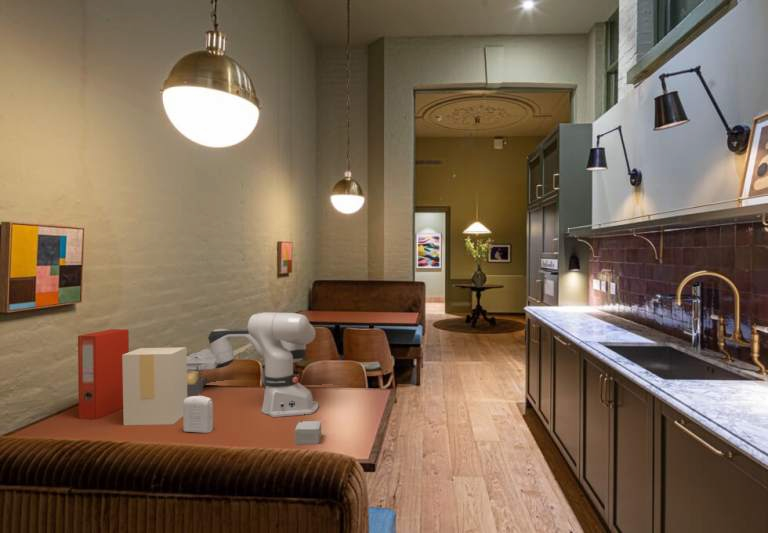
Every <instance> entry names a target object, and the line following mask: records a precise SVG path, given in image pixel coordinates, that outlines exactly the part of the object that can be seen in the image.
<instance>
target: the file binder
mask: <svg viewBox="0 0 768 533" xmlns="http://www.w3.org/2000/svg"><path fill="white" fill-rule="evenodd" d="M129 332H130V331H129V329H127V328H126V329H124V328H123V329H120V328H118V329H117V328H115V329H114V328H110V329H106V330H102V331H97V332H96V331H95V332H90V333H85V334H81V335H78V336H77V361H78V362H77V367H78V368H77V371H78V372H77V374H78V376H77V378H78V379H77V382H78V383H77V384H78V418H79V419H80V418H82V420H93V419H95V421H96V419H97V420H99V419H101V418H103V416H104V417H105V416H106V417H107V416H108V415H111V414H113V413H115V412H117V411H120V410H122V409H123V364H122V355H123V354H126V353H128V352H130V347H129V346H130V344H129V340H130V339H129V338H130V336H129ZM98 418H99V419H98Z"/></svg>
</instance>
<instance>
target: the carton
mask: <svg viewBox="0 0 768 533" xmlns="http://www.w3.org/2000/svg"><path fill="white" fill-rule="evenodd" d="M187 355H188V354H187V347H186V346H183V347H182V346H181V347H178V346H177V347H140V348H137V349H134V350H131V351H129V352H128V353H126V354H123V355H122V364H123V408H122V409H123V411H122V412H123V413H122V414H123V426H153V425H155V426H156V425H157V426H158V425H159V426H161V425H162V426H163V425H164V426H165V425H166V426H167V425H174V424H175V423H177V422H178V421H179V420H180V419H182V418H183V403H184V400H185V398H188V396H187V373H188V370H187ZM181 417H182V418H181Z"/></svg>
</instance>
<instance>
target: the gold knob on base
mask: <svg viewBox="0 0 768 533" xmlns="http://www.w3.org/2000/svg"><path fill="white" fill-rule="evenodd" d="M207 384H208V377H207V376H206V377H200V374H199V372H196V371H193V372H187V395H198V394H199V393H200V394H201V393H203V391H204V387H205V386H206V385H207ZM200 394H199V395H200ZM199 395H198V396H199Z"/></svg>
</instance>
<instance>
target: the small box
mask: <svg viewBox="0 0 768 533" xmlns="http://www.w3.org/2000/svg"><path fill="white" fill-rule="evenodd" d="M321 437H322V421H321V420H316V421H315V420H313V421H309V420H306V421H305V420H304V421H302V420H301V421H299V422H298V423H297V424H296V427H295V429H294V445H296V446H297V445H319V443H320V440H321Z"/></svg>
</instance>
